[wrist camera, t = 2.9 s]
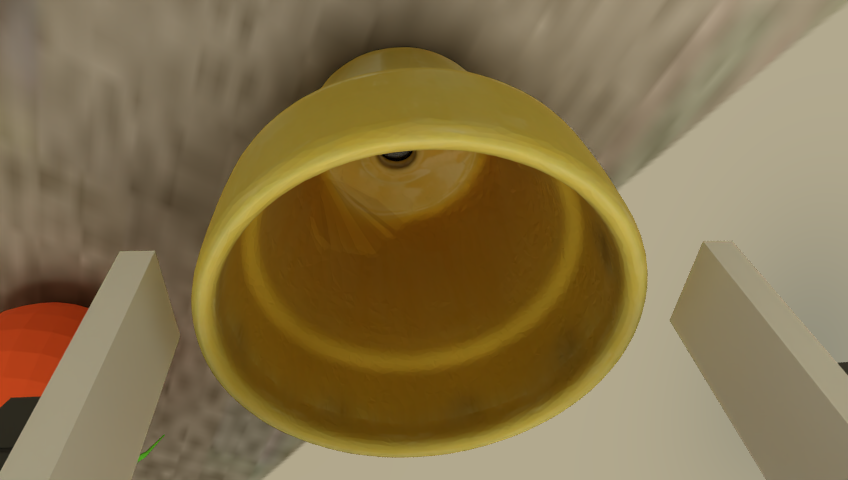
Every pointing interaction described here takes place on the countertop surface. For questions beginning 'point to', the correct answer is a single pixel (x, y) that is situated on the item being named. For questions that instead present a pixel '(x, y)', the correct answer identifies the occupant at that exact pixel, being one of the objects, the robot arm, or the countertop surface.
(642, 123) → the countertop surface
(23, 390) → the clementine
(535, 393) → the plant pot
